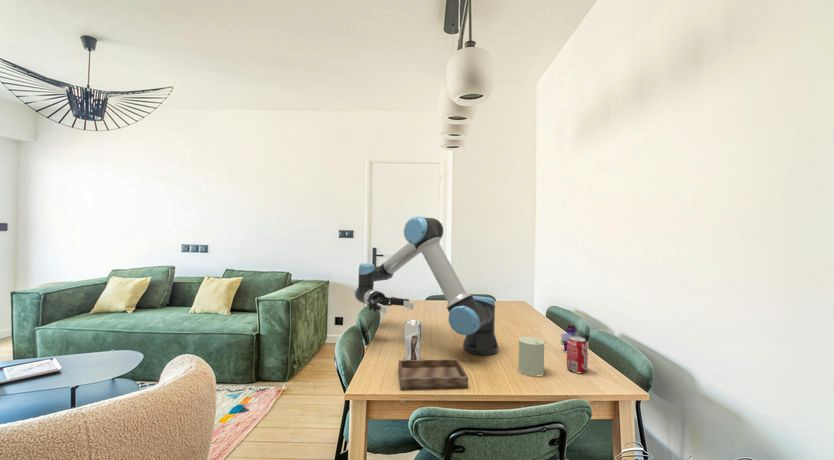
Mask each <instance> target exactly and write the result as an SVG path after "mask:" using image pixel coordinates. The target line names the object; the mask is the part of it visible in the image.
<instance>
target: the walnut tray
mask: <svg viewBox="0 0 834 460" xmlns="http://www.w3.org/2000/svg"><path fill="white" fill-rule="evenodd" d="M397 369H398V377H399V387H400V391H417V390H418V391H421V390H424V391H425V390H427V391H428V390H458V389H459V390H461V389H465V390H466V389H469V376H468V375H467V373H466V372H465V369H464V368H463V367H462V365H461V363H460V361H459V360H458V358H454V359H451V358H449V359H446V358H445V359H444V358H443V359H442V358H441V359H420V360H405V359H401V360H400V359H399V360H398V368H397Z"/></svg>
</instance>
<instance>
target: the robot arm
mask: <svg viewBox="0 0 834 460" xmlns="http://www.w3.org/2000/svg"><path fill="white" fill-rule="evenodd" d="M403 236H404V238H405V240H406V241H407V243H406V244H405V245H403V246H402V247H401V248H400V249H398V250H397V251H396V252H395V253H394V254H393V255H392V256H390V257H389V258H388V259H386V260H385V261H384V262H382V264H381V265H378V266H375V264H373V263H365V262H364V263H360V264H359V266H358V285H357V286H358V287H357V288H356V289H355V291H354V298H355V299H356V300H357V301H359V303H362V304H365V305H367V307H368V310H369V311H371V310H372V311H373V313H374V312H377V311H378V312H380V313H383V314H387V306H388V307H389V306H401V307H403V308H406V309H409V310H414V303H413V302H411V301H410V299H407V298H400V297H399V298H398V297H395V296H391V297H387V296H385V294H384V293H383V292H381V291H378V290H376V289H374V286H375V285H374V282H380V281H387V280H388V281H389V280H390V279H392V278H393V276H394V274H395V273H396V272H397V271H399V270H400V269H401V268H402V267H404V266H405V265H407V263H409V262H410V261H411V260H413V259H414V258H415V257H417V256H418V255H420V254H422V255H423V258H424V259H425V261H426V263H427V265H428V267H429V269H430V270H431V272H432V275H433V277H434V278H435V280H436V282H437V284H438V286H439V288H440V290H441V292H442V293H443V296H444V298H445V299H446V302H447V305H446V309H447V312H448V324H449V326H450V327H451V329H452V330H453V331H454V332H455V333H456V334H459V335H461V336H465V337H464V340H463V343H462V349H463V350H464V351H465V352H467V353H469V354H472V355H477V356H478V355H479V356H492V355H495V354H497V353H498V352H499V344H498V341H497V337H496V334H495V333H496V332H495V326H496V325H495V320H496V319H495V318H496V317H495V316H496V301H495V299H494V298H491V297H487V296H481V295H480V296H478V295H472V294H471V293H468V292H466V290H465V288H464V286H463V284H462V283H461V280H460V279H459V277H458V275H457V273H456V272H455V270H454V268H453V266H452V264H451V263H450V260H449V259H448V257H447V255H446V253H445V252H444V249H443V248H442V246H441V244H440V242H441V240H442V237H443V236H444V226H443V223H442V222H440V220H438V219H436V218H434V217H423V216H414V217H411V218H409V219H408V220H407V222H406V223H405V224H404V228H403Z"/></svg>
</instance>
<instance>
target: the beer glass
mask: <svg viewBox="0 0 834 460" xmlns="http://www.w3.org/2000/svg"><path fill="white" fill-rule="evenodd" d="M422 327H423V326H422V321H421V320H416V319H415V320H414V319H412V320H406V321H405V322H404V330H403V331H404V333H403V338H404V343H405V344H404V345H405V357H404V360H421V357H420V356H421V355H420V348H421V342H422V337H423V333H422V332H423V329H422Z"/></svg>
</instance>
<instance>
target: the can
mask: <svg viewBox="0 0 834 460" xmlns="http://www.w3.org/2000/svg"><path fill="white" fill-rule="evenodd" d="M517 371H518V372H519V373H520V372H521V373H520V374H522V373H523V374H522V375H524V374H526V375H525V376H527V375H531V376H530V377H532V376H537V375H542V374H544V375H545V341H544V340H543V339H541V338H538V337H533V336H520V337H519V338H518V367H517Z"/></svg>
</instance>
